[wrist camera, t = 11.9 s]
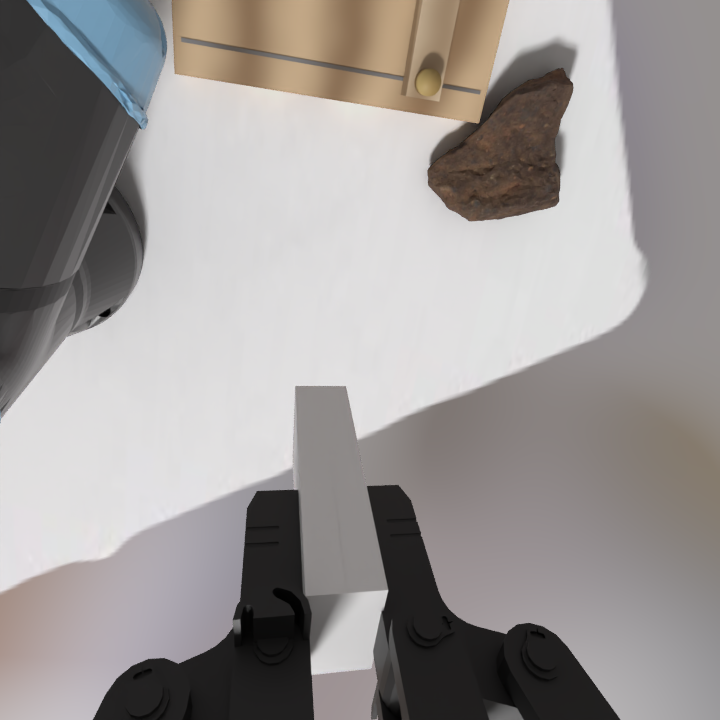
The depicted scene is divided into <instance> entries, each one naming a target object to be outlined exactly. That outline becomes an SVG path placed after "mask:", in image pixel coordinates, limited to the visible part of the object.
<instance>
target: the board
mask: <svg viewBox="0 0 720 720" xmlns="http://www.w3.org/2000/svg"><path fill="white" fill-rule="evenodd" d="M508 4H509V0H460V2H459V7H458V12H457V17H456V22H455V27H454V32H453V36H452V41H451V46H450V51H449V56H448V61H447V66H446V71H445V76H444V80H443V85H442V90H441V95H440V100H439V102H438V101H432V100H426V99H420V98H415V97H409V96H403V95H401V90H402V84H403V78H404V72H405V66H406V60H407V54H408V48H409V42H410V36H411V30H412V24H413V18H414V12H415V6H416V0H172V20H173V44H174V68H175V74H179V75H185V76H191V77H197V78H204V79H210V80H216V81H222V82H228V83H234V84H240V85H246V86H253V87H259V88H265V89H271V90H277V91H283V92H289V93H295V94H301V95H308V96H314V97H320V98H326V99H332V100H338V101H344V102H350V103H357V104H363V105H369V106H375V107H381V108H387V109H393V110H399V111H405V112H412V113H418V114H424V115H430V116H436V117H442V118H448V119H454V120H460V121H467V122H473V123H479V121H480V117H481V113H482V109H483V105H484V101H485V97H486V93H487V89H488V85H489V81H490V77H491V73H492V69H493V64H494V60H495V56H496V52H497V48H498V44H499V40H500V36H501V32H502V28H503V24H504V20H505V16H506V12H507V8H508Z"/></svg>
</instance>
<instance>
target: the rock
mask: <svg viewBox="0 0 720 720" xmlns="http://www.w3.org/2000/svg"><path fill="white" fill-rule="evenodd" d="M572 93H573V83H572V82H571V81H570V79H569V78H567V76H566V74H565V71H564V69H563V68H561V69H559V68H558V69H556V70H554V71H552V72H549V73H547V74H546V75H545V76H544V77H541V78H538V79H532V80H528V81H527V82H525V83H524V84H522V85H521V86H519V87H518V88H516V89H514V90H513V91H512V92H510V93H509V94H508V95H507V96H506V97H505V98H503V99H502V101H501V102H500V103H499V105H498V106H497V108H496V109H495V111H494V112H493V114H491V115H490V116H489V118H488V119H487V121H486V122H485V123H484V124H483V125H481V126H480V127H479V128H478V129H477V130H476V131H475V132H474V133H472V134H471V135H470V136H469V137H468V138H467V139H465V140H464V141H463V142H462V143H461V144H460V145H459V146H457V147H455V148H454V149H452V150H450V151H448V152H447V153H446V154H445V155H443V156H442V157H440V158H439V159H438V160H437V161H436V162H435V163H434V164H433V165H432V166H431V167H430V168H429V169H428V186H429V187H430V188H431V189H432V190H433V191H434V192H435V193H436V194H437V195H438V196H439V197H440V198H441V199H442V201H443V202H444V203H445V205H446V207H447V208H448V209H450V210H452V211H454V212H456V213H458V214H460V215H461V216H462V217H464V218H466V219H467V220H468V221H483V220H492V219H503V218H506V217H512V216H518V215H522V214H526V213H529V212H533V211H537V210H543V209H547V208H551V207H554V206H556V205H557V203H558V202H559V191H560V170H559V168H558V166H557V164H556V163H555V158H556V152H555V137H556V135H557V134H558V130H559V126H560V122H561V118H562V116H563V114H564V112H565V110H566V108H567V106H568V104H569V101H570V98H571V95H572Z"/></svg>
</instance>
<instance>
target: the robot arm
mask: <svg viewBox="0 0 720 720" xmlns="http://www.w3.org/2000/svg"><path fill="white" fill-rule="evenodd" d="M166 51H167V41H166V35H165V31H164V28H163V24H162V21H161V19H160V17H159V15H158V13H157V12H156V10H155V9H154V7H153V6H152V4H151V3H150V2H149V0H0V421H1V418H2V417H3V416H4V414H5V413H6V412H7V411H8V409H9V408H10V407H11V406H12V404H13V403H14V402H15V401H16V399H17V398H18V397H19V396H20V394H21V393H22V392H23V391H24V389H25V388H26V387H27V386H28V384H29V383H30V382H31V381H32V379H33V378H34V377H35V376H36V374H37V373H38V372H39V371H40V369H41V368H42V367H43V366H44V364H45V363H46V362H47V361H48V359H49V358H50V357H51V356H52V354H53V353H54V352H55V351H56V349H57V348H58V347H59V346H60V344H61V343H62V342H63V341H64V339H65V338H66V337H68V336H70V335H73V334H76V333H79V332H81V331H84V330H87V329H89V328H92V327H94V326H96V325H98V324H100V323H102V322H104V321H105V320H107V319H108V318H109V317H111V316H112V315H113V314H114V313H115V312H117V311H118V310H119V309H120V308H121V306H122V305H123V304H124V303H125V301H126V300H127V298H128V297H129V295H130V294H131V292H132V291H133V289H134V287H135V286H136V284H137V281H138V279H139V276H140V272H141V268H142V260H143V250H142V241H141V236H140V232H139V229H138V226H137V223H136V220H135V218H134V216H133V214H132V212H131V210H130V208H129V206H128V204H127V203H126V201H125V200H124V198H123V197H122V195H121V194H120V193H119V191H118V190H117V189H116V188H115V186H114V185H115V183H116V180H117V178H118V176H119V173H120V171H121V168H122V166H123V164H124V161H125V159H126V157H127V154H128V152H129V150H130V147H131V145H132V143H133V140H134V138H135V136H136V133H137V131H138V129H139V128H140V129H145V128H146V126H147V122H148V118H147V115H146V111H147V108H148V106H149V103H150V100H151V98H152V95H153V92H154V90H155V87H156V84H157V81H158V79H159V76H160V73H161V71H162V68H163V65H164V62H165V59H166ZM293 479H294V480H293V481H294V490H276V491H257V492H256V494H255V496H254V498H253V499H252V501H251V503H250V504H249V506H248V508H247V519H246V531H245V546H244V558H243V571H242V584H241V598H240V602H239V603H238V605H237V607H236V611H235V615H234V618H233V629H232V630H231V631H230V632H229V634H228V635H227V637H226V638H225V639H224V640H222V641H221V642H220V643H219V644H218V645H217V646H215V647H213V648H212V649H210V650H208V651H206V652H204V653H202V654H200V655H198V656H195V657H193V658H191V659H189V660H186V661H184V662H182V663H179V664H177V663H175V662H173V661H170V660H168V659H165V658H159V659H148V660H145V661H143V662H140V663H138V664H136V665H133V666H131V667H130V668H129V669H128V670H127V671H125V672H124V673H123V674H122V675H121V676H119V677H118V678H117V679H116V681H115V682H114V684H113V685H112V686H111V688H110V689H109V691H108V692H107V693H106V695H105V697H104V699H103V701H102V703H101V705H100V707H99V709H98V711H97V713H96V715H95V717H94V719H93V720H314V710H313V693H312V675H314V674H324V673H333V672H343V671H353V670H362V669H371V667H372V663H373V658H374V661H375V667H376V674H377V680H378V682H377V686H376V690H375V694H374V699H373V703H372V712H371V719H377V715H378V720H620V719H619V717H618V716H617V714H616V713H615V712H614V710H613V709H612V708H611V706H610V705H609V703H608V702H607V701H606V699H605V698H604V697H603V695H602V694H601V692H600V691H599V690H598V688H597V687H596V685H595V684H594V683H593V681H592V680H591V679H590V677H589V676H588V675H587V673H586V672H585V670H584V669H583V668H582V666H581V665H580V664H579V662H578V661H577V659H576V658H575V657H574V655H573V654H572V652H571V651H570V650H569V648H568V647H567V646H566V645H565V644H564V643H563V642H562V641H561V639H560V638H559V637H558V636H557V635H556V634H554V633H552V632H551V631H549V630H548V629H546V628H544V627H543V626H539V625H535V624H531V623H525V624H518V625H516V626H515V627H513V628H512V629H511V630H509V631H508V633H507V634H504V633H500V632H495V631H492V630H488V629H484V628H480V627H477V626H474V625H471V624H468V623H466V622H465V621H463V620H461V619H460V618H458V617H457V616H456V615H454V614H453V613H452V612H451V611H450V610H449V609H448V607H447V606H446V605H445V603H444V602H443V600H442V598H441V596H440V594H439V591H438V588H437V585H436V582H435V578H434V575H433V572H432V569H431V565H430V562H429V559H428V555H427V552H426V549H425V546H424V542H423V539H422V537H421V532H420V529H419V526H418V522H416V516H415V513H414V509H413V506H412V503H411V500H410V499H409V498H408V496H407V495H406V494H405V493H404V491H403V490H402V489H401V488H400V487H399V485H385V486H366V481H365V476H364V472H363V466H362V462H361V457H360V452H359V448H358V442H357V438H356V433H355V428H354V423H353V418H352V413H351V409H350V404H349V399H348V394H347V389H346V386H295V409H294V435H293Z"/></svg>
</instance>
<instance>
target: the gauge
mask: <svg viewBox="0 0 720 720" xmlns="http://www.w3.org/2000/svg"><path fill="white" fill-rule="evenodd" d="M459 2H460V0H416V6H415V12H414V18H413V24H412V30H411V36H410V42H409V48H408V54H407V60H406V66H405V72H404V78H403V84H402V90H401V95H403V96H409V97H415V98H420V99H426V100H432V101H438V102H439V100H440V95H441V90H442V85H443V80H444V76H445V71H446V66H447V61H448V56H449V51H450V46H451V41H452V36H453V32H454V27H455V22H456V17H457V12H458V7H459Z"/></svg>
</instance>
